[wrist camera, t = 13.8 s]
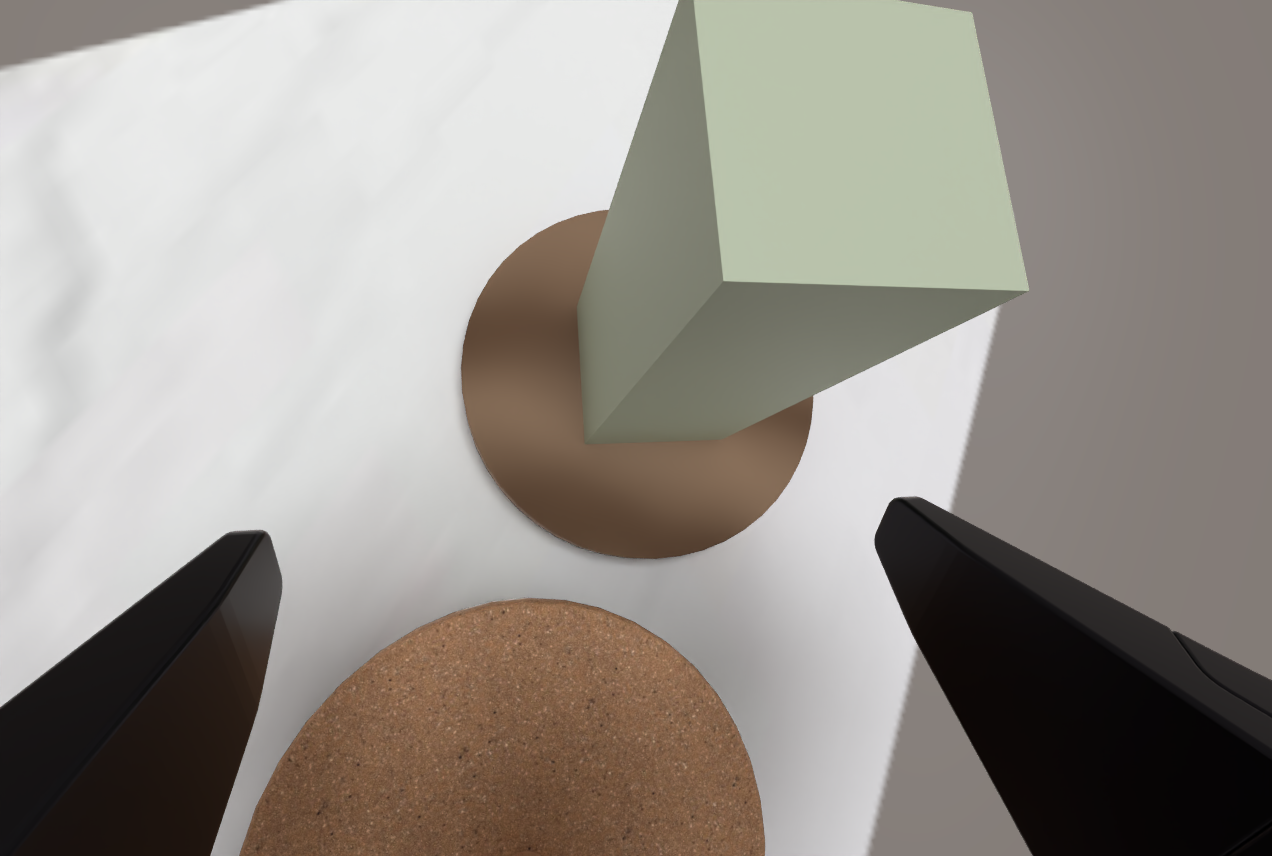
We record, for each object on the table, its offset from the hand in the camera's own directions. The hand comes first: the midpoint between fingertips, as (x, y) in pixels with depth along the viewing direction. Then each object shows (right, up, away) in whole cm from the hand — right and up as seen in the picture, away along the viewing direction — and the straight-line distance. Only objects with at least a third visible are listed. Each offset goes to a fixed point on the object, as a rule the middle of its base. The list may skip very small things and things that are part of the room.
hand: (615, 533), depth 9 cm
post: (+1, +4, +13) cm, 13 cm away
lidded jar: (-4, -9, +11) cm, 15 cm away
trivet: (0, +3, +14) cm, 15 cm away
